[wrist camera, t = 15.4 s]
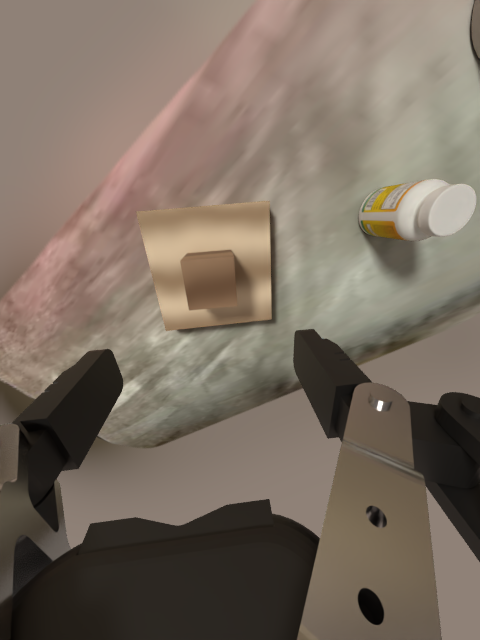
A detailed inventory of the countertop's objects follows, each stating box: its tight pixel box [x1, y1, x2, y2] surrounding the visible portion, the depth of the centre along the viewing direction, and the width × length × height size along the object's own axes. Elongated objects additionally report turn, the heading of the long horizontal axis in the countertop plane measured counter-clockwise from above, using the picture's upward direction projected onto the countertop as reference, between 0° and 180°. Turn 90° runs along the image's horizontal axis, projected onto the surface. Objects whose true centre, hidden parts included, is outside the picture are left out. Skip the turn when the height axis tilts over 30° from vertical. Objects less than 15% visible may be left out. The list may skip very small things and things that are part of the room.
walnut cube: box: [180, 250, 238, 311], centre depth 24 cm, size 5×5×5 cm
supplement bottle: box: [359, 179, 476, 241], centre depth 23 cm, size 5×5×10 cm
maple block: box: [136, 201, 272, 331], centre depth 27 cm, size 14×14×3 cm
